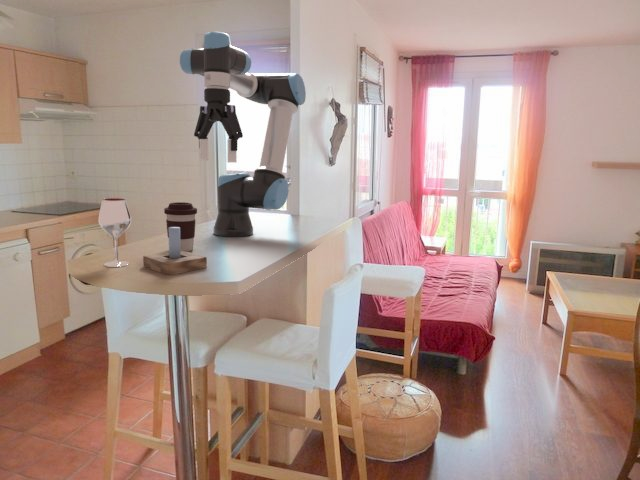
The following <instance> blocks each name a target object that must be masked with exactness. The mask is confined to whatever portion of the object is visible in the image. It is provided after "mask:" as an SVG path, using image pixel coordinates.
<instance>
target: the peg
mask: <svg viewBox="0 0 640 480" xmlns="http://www.w3.org/2000/svg"><path fill="white" fill-rule="evenodd" d="M168 252H169V259H178V258H181V249H180V227H169V238H168Z"/></svg>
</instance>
